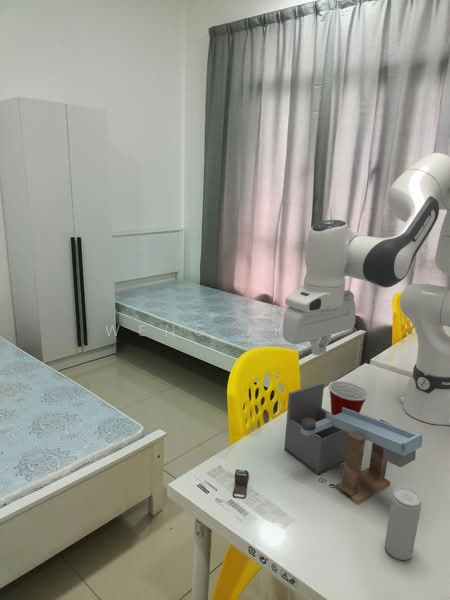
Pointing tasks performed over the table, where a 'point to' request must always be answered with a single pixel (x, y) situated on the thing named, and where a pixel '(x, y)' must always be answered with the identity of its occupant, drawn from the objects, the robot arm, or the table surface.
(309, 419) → the lever
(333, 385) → the plastic cup
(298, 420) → the bin
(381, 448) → the stand
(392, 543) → the beverage can
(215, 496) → the table surface
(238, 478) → the grey hinged case
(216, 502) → the table surface
